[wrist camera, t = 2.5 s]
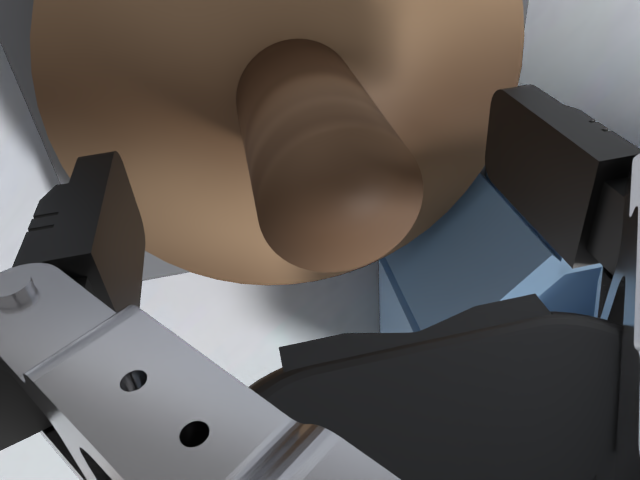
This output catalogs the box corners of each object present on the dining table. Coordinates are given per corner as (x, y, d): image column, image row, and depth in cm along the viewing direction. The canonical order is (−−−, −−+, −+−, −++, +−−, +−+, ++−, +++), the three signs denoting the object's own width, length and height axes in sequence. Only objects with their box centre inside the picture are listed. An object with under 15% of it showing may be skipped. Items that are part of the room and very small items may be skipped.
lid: (-63, -179, 10) (-283, -197, 5) (540, -232, 11) (792, -285, 7) (125, 295, 17) (102, 467, 13) (482, 229, 19) (583, 361, 14)
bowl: (377, 174, 17) (434, 274, 13) (690, 121, 18) (829, 196, 14) (380, 392, 24) (420, 502, 20) (611, 342, 25) (691, 436, 21)
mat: (-67, -144, 11) (-78, -143, 10) (543, -202, 12) (558, -204, 12) (106, 275, 17) (104, 287, 17) (489, 205, 19) (497, 214, 18)
